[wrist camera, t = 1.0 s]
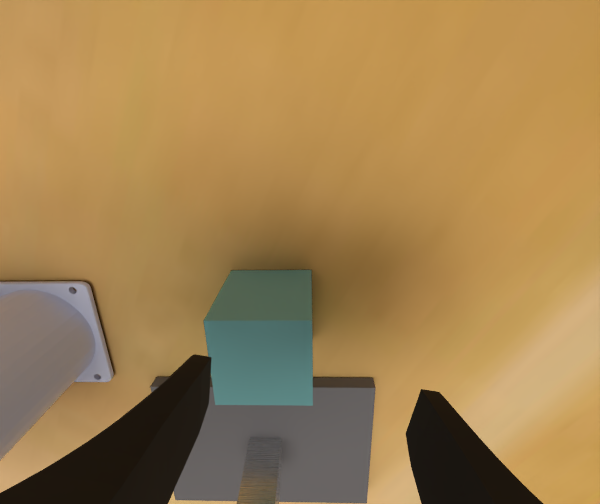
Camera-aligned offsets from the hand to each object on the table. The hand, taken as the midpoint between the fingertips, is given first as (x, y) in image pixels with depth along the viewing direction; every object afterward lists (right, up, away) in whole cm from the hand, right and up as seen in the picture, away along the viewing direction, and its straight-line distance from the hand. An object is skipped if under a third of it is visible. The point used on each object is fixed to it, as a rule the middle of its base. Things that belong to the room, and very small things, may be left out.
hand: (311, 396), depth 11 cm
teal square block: (-2, +1, +11) cm, 11 cm away
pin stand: (-3, -10, +15) cm, 18 cm away
